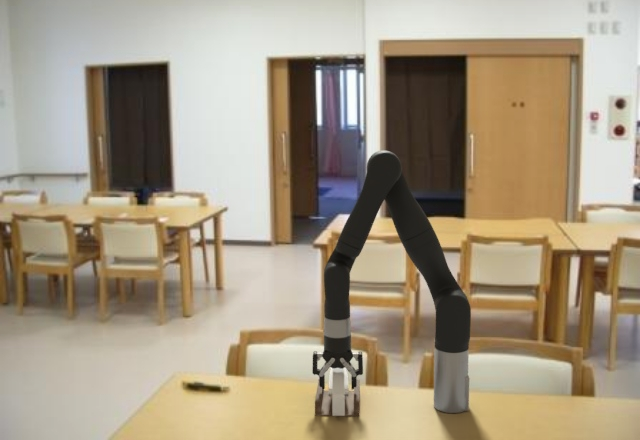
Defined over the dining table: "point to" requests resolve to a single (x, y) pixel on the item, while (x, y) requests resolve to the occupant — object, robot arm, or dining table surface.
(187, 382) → the dining table surface
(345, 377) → the shelf bracket
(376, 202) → the robot arm
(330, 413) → the walnut channel
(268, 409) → the dining table surface
